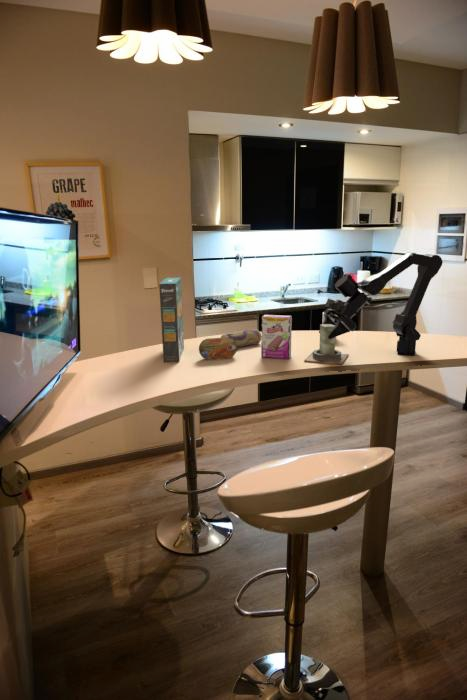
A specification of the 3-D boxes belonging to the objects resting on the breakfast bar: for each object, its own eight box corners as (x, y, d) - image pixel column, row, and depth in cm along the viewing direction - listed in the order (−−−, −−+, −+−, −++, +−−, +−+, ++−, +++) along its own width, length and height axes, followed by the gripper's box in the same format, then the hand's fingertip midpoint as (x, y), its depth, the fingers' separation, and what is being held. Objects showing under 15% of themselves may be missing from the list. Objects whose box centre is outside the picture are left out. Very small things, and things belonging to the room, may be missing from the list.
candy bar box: (261, 358, 180) (260, 316, 176) (263, 354, 184) (263, 314, 180) (289, 359, 177) (290, 317, 173) (291, 356, 182) (292, 315, 177)
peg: (330, 355, 179) (331, 323, 176) (334, 358, 175) (335, 326, 172) (319, 356, 179) (320, 324, 176) (323, 359, 174) (324, 326, 171)
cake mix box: (169, 348, 197) (166, 277, 190) (184, 348, 197) (180, 277, 190) (163, 362, 176) (159, 283, 169) (179, 362, 176) (175, 283, 169)
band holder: (348, 355, 181) (348, 349, 180) (342, 365, 168) (342, 358, 168) (312, 352, 186) (313, 346, 185) (304, 361, 173) (304, 355, 173)
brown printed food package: (200, 361, 177) (199, 339, 175) (198, 359, 180) (197, 338, 178) (237, 357, 181) (237, 336, 179) (235, 355, 184) (235, 335, 182)
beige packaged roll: (251, 341, 207) (251, 327, 206) (262, 344, 201) (262, 329, 200) (202, 350, 193) (202, 335, 191) (212, 354, 187) (212, 338, 185)
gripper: (329, 288, 180) (302, 317, 181) (349, 294, 162) (318, 326, 163) (347, 307, 183) (320, 335, 184) (369, 315, 166) (339, 346, 167)
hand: (324, 335), depth 175 cm, fingers open, 9 cm apart
